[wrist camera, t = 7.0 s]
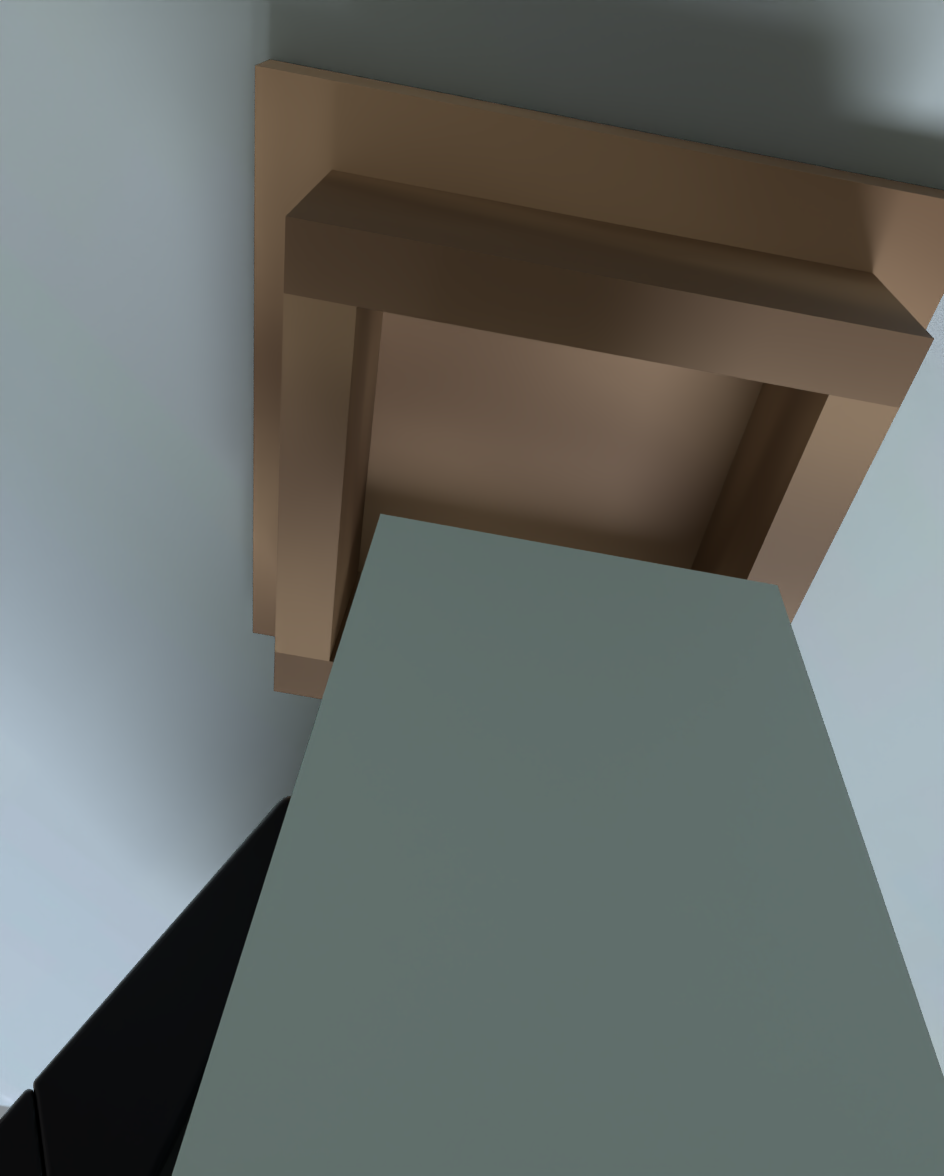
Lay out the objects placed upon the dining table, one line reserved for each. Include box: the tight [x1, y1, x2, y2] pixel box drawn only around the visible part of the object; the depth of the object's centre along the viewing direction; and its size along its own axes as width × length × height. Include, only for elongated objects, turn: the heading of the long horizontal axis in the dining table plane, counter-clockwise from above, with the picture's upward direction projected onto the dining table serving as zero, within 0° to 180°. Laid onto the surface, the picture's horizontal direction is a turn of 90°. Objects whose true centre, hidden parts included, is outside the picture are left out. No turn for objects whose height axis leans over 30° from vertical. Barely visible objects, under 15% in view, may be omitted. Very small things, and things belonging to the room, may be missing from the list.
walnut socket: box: [253, 60, 944, 699], centre depth 15 cm, size 11×11×4 cm
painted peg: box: [172, 514, 944, 1176], centre depth 8 cm, size 5×5×9 cm
